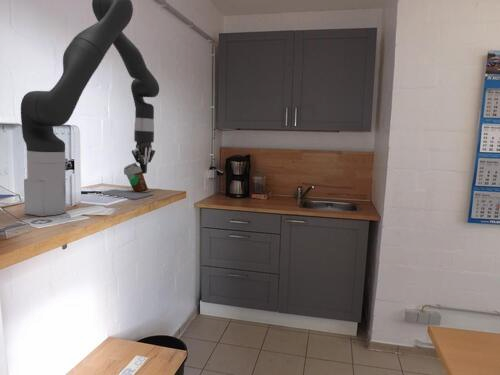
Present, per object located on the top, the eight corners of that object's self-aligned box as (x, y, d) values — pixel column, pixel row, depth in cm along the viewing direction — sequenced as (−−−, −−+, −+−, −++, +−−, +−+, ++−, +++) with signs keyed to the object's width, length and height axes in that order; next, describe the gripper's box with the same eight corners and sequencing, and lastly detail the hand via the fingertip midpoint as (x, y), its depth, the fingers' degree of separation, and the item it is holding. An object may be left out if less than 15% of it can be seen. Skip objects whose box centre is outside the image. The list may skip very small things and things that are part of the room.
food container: (129, 189, 148) (120, 167, 145) (143, 184, 150) (135, 162, 147) (133, 196, 137) (124, 171, 134) (148, 190, 139) (140, 166, 136)
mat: (134, 199, 127) (134, 198, 127) (93, 194, 132) (93, 193, 132) (153, 195, 138) (153, 194, 138) (114, 190, 143) (114, 189, 143)
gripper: (142, 130, 136) (141, 175, 138) (161, 131, 148) (160, 173, 150) (125, 129, 138) (125, 173, 140) (146, 130, 150) (145, 171, 153)
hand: (143, 173), depth 145 cm, fingers closed
